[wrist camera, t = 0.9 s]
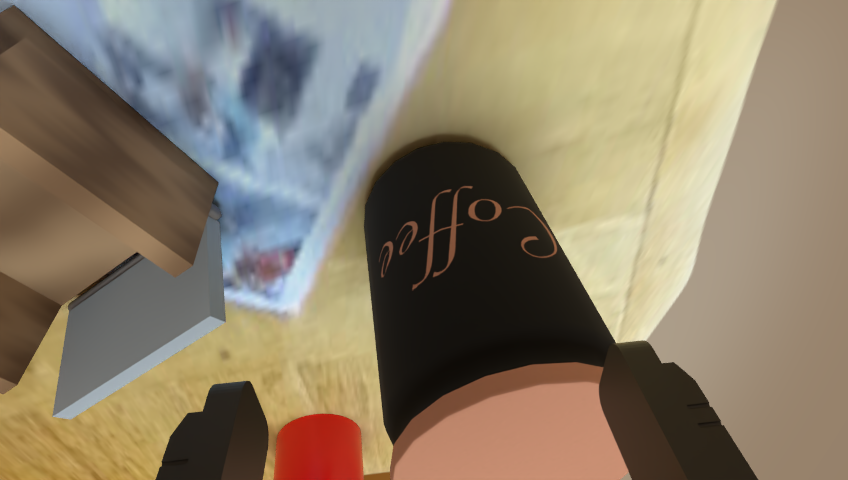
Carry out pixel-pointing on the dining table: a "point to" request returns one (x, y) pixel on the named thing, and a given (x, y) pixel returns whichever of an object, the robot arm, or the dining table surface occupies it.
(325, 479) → the mug
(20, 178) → the open wooden box
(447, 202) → the coffee jar
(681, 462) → the robot arm
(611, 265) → the dining table surface
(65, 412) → the panel
